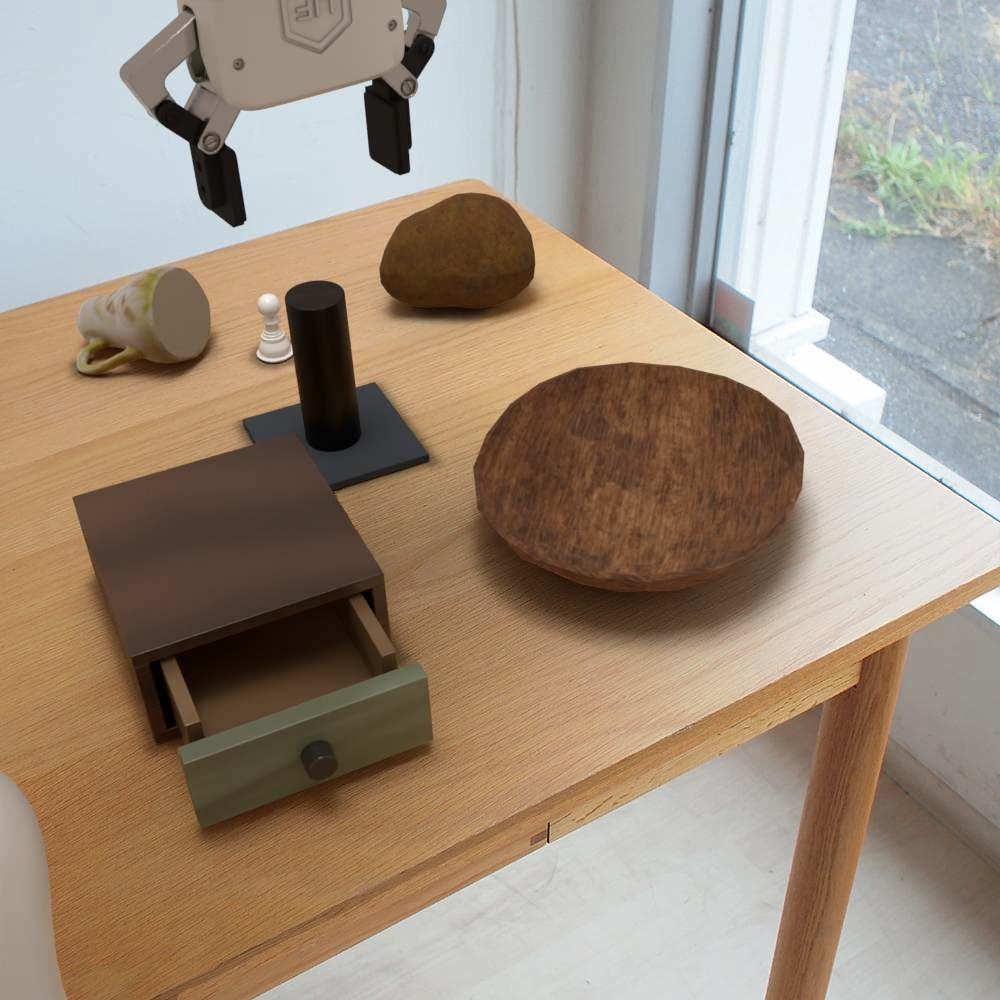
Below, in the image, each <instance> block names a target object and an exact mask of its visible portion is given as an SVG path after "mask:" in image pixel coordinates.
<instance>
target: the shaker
mask: <svg viewBox="0 0 1000 1000" xmlns="http://www.w3.org/2000/svg"><path fill="white" fill-rule="evenodd" d="M284 304H285V311H286V318H287V323H288V324H287V325H288V330H289V337H290V343H291V345H292V351H293V355H292V357H293V363H294V370H295V377H296V383H297V389H298V396H299V403H300V404H301V410H302V417H303V424H304V430H305V437H306V441H307V443H308V444H309V445H310V446H311V447H313V448H314V449H317V450H320V451H326V452H333V451H340V450H344V449H347V448H349V447H351V446H353V445H354V444H355V443H356V442H357V441H358V440H359V439H360V436H361V426H360V417H359V409H358V401H357V392H356V387H357V385H356V376H355V368H354V360H353V351H352V342H351V335H350V326H349V317H348V309H347V300H346V293H345V289H344V288H343V287H342V286H341V285H340V284H339V283H336V282H333V281H330V280H324V279H323V280H317V279H316V280H309V281H305V282H304V281H303V282H301V283H297V284H296V285H294V286H292V287H291V288H289V289H288V290H287V291H286V293H285V294H284Z"/></svg>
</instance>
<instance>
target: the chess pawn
mask: <svg viewBox="0 0 1000 1000" xmlns="http://www.w3.org/2000/svg"><path fill="white" fill-rule="evenodd" d="M256 307H257V310H258V312H259V314H261V315H262V316H263V318H262V319H261V322H262V325H264V326H265V327H264V328H263V331H262V332H261V334H260V337H261V338H260V340H259V342H258V348H257V350H256V357H257V358H258V359H259V360H261V361H264V362H265V363H270V364H276V363H281V362H284V361H287V360H288V359H289V358H291V357H293V351H292V344H291V340H290V339H289V337H288V336H287V335H286V332H285V330H284V329H283V328H282V327H281V326H280V325H279V323H280V322H281V320H282V319H281V317H280V316H279V315H278V313H279V312H280V310H281V307H282V306H281V301H280V299H279V298H278V296H277V295H275V294H273V293H264V294H262V295H261V296H260V297H259V298H258V300H257V303H256Z"/></svg>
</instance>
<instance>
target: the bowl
mask: <svg viewBox="0 0 1000 1000" xmlns="http://www.w3.org/2000/svg"><path fill="white" fill-rule="evenodd" d="M805 454H806V453H805V450H804V448H803V445H802V443H801V440H800V438H799V437H798V434H797V432H796V430H795V427H794V425H793V422H792V420H791V418H790V415H789V414H788V413H787V412H786V411H785V410H784V409H782V408H781V407H779V406H778V405H777V404H776V403H774V402H773V401H772V400H771V399H770V398H769V397H767V396H766V395H764V394H763V393H762V392H761V391H759V390H757V389H755V388H752V387H750V386H748V385H746V384H744V383H742V382H740V381H737V380H734V379H732V378H730V377H728V376H725V375H722V374H717V373H713V372H708V371H704V370H698V369H694V368H690V367H685V366H682V365H681V366H680V365H671V364H659V363H649V362H648V363H647V362H636V361H627V362H618V363H617V362H616V363H608V364H599V365H591V366H590V365H589V366H579V367H576V368H575V367H574V368H573V369H571V370H568V371H565V372H563V373H561V374H558V375H556V376H553V377H551V378H548V379H546V380H544V381H541V382H539V383H538V384H536V385H535V386H533V387H531V388H530V389H529V390H527V391H526V392H525V393H523V394H522V395H521V396H519V397H517V398H516V399H515V400H513V401H512V402H510V404H508V406H507V408H505V410H504V411H503V412H502V414H501V415H500V416H499V417H498V419H497V420H496V421H495V422H494V423H493V425H492V426H491V427H490V428H489V430H488V431H487V433H486V434H485V436H484V439H483V442H482V445H481V447H480V449H479V452H478V454H477V457H476V459H475V461H474V464H473V467H472V471H473V481H474V488H475V489H474V490H475V498H476V506H477V509H478V511H479V512H480V513H481V515H482V516H483V517H484V518H485V519H486V520H487V521H488V523H489V525H491V526H492V528H494V530H495V531H496V532H497V534H498V535H499V536H500V537H501V538H502V540H504V542H505V543H506V544H507V545H508V546H509V547H510V548H511V549H512V550H513V551H514V553H515V554H516V555H517V556H518V557H519V558H520V559H522V560H523V561H526V562H528V563H531V564H533V565H535V566H538V567H540V568H542V569H544V570H547V571H549V572H550V573H554V574H555V575H558V576H560V577H563V578H565V579H568V580H570V581H572V582H574V583H576V584H579V585H584V586H589V587H593V588H598V589H601V590H602V589H603V590H608V591H612V592H618V593H630V592H633V593H634V592H666V591H667V592H668V591H669V592H670V591H680V590H683V589H687V588H690V587H693V586H697V585H700V584H705V583H709V582H711V581H713V580H715V579H717V578H719V577H722V576H723V575H725V574H727V573H728V572H730V571H731V570H733V569H734V568H736V567H737V566H738V565H740V564H741V563H743V562H745V561H747V560H748V559H749V558H751V557H752V556H753V555H755V554H757V553H758V552H760V550H762V549H763V548H764V547H765V546H766V545H767V544H768V543H769V542H771V541H772V540H773V539H774V538H775V537H776V536H777V535H778V534H779V533H780V532H781V531H782V529H783V528H784V527H785V526H786V524H787V522H788V520H789V518H790V516H791V514H792V511H793V509H794V508H795V506H796V503H797V502H798V499H799V497H800V495H801V492H802V491H803V483H804V467H805V465H804V464H805Z"/></svg>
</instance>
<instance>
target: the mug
mask: <svg viewBox="0 0 1000 1000" xmlns="http://www.w3.org/2000/svg"><path fill="white" fill-rule="evenodd" d="M211 323H212V321H211V306H210V301H209V299H208V297H207V295H206V293H205V290H204V289H203V287H202V286H201V284H200V282H199V281H198V280H197V278H195V276H194V275H193V274H191V273H190V272H189V271H188V270H187V269H185V268H182V267H178V266H159V267H154V268H151V269H148V270H146V271H143V272H142V273H139V274H137V275H136V276H134V277H132V278H131V279H130V280H129V281H127V282H126V283H124V284H123V285H122V286H120V287H119V288H117V289H116V290H115V291H113V292H110V293H106V294H101V295H96V296H90V297H89V298H87V299H86V300H84V301H83V303H81V305H80V307H79V310H78V313H77V316H76V324H77V328H78V330H79V333H80V334H81V337H82V338H83V339H84V340H85V342H87V343H88V344H87V345H86V346H85V347H83V348H82V349H81V350H80V352H79V353H78V354H77V357H76V363H75V364H76V369H77V370H78V371H79V372H80V373H82V374H85V375H92V376H93V375H94V376H95V375H100V374H104V373H106V372H109V371H111V370H113V369H116V368H117V367H120V366H122V365H124V364H128V363H130V362H134V361H137V360H138V361H139V360H141V359H145V360H147V361H149V362H150V361H151V362H154V363H159V364H177V363H181V362H184V361H187V360H192V359H195V358H197V357H199V356H200V354H201V353H202V352H203V351H204V349H205V347H206V345H207V343H208V341H209V338H210V333H211V326H212V325H211ZM105 348H119V349H123V351H121V352H119V353H116V354H115V355H113V356H112V357H110V358H108V359H106V360H104V361H101V362H100V363H95V364H88V363H89V359H90V357H91V356H92V354H93V353H95V352H96V351H97V350H101V349H105Z"/></svg>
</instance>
